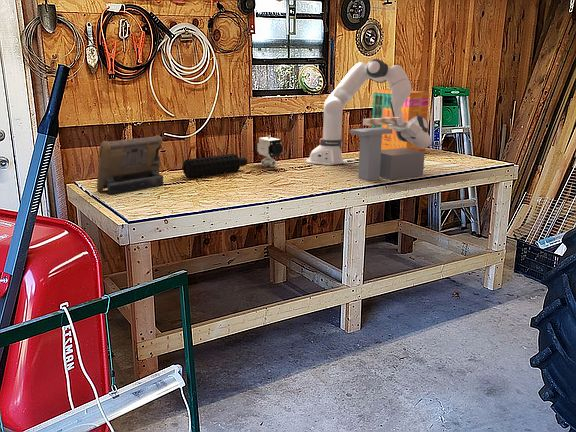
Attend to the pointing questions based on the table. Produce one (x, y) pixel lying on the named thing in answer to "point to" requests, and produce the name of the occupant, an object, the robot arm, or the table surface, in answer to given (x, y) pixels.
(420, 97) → the orange green grid box
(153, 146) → the tablet
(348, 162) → the table surface
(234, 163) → the roller
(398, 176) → the block
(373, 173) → the stand
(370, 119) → the bar
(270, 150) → the white security camera
